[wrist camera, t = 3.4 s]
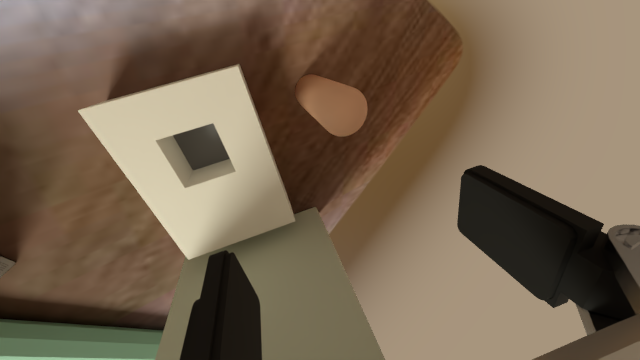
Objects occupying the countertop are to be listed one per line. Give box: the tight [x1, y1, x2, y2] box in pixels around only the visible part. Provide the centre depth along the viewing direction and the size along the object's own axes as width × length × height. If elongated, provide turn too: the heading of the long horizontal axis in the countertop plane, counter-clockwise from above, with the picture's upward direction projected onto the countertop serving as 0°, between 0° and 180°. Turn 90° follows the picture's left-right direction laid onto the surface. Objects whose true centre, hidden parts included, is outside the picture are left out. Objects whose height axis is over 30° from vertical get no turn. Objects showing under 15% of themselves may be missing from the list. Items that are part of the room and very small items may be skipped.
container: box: [0, 319, 163, 360], centre depth 36 cm, size 6×6×25 cm
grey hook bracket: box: [155, 207, 385, 360], centre depth 22 cm, size 8×20×32 cm, turn 104°
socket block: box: [78, 64, 295, 260], centre depth 29 cm, size 19×14×5 cm
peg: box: [295, 74, 368, 137], centre depth 25 cm, size 4×4×12 cm
